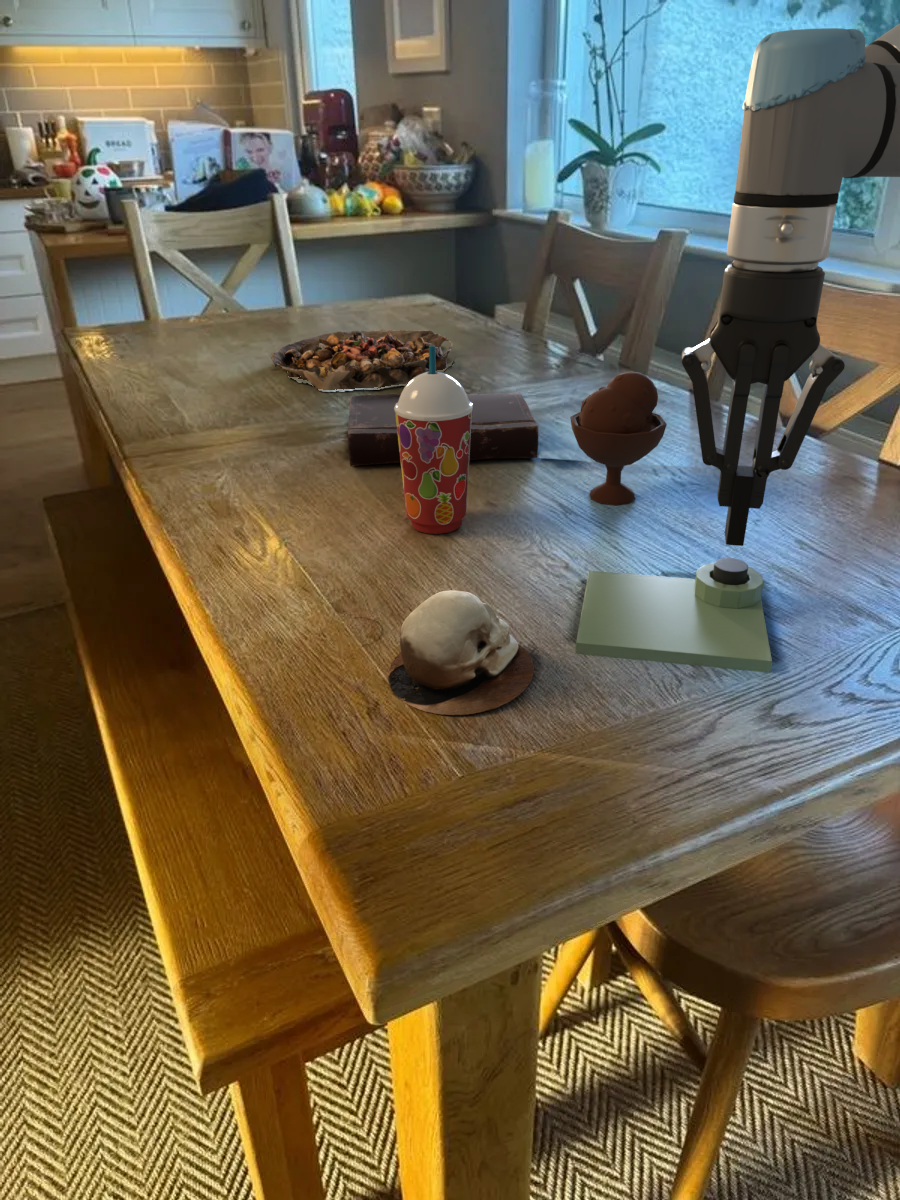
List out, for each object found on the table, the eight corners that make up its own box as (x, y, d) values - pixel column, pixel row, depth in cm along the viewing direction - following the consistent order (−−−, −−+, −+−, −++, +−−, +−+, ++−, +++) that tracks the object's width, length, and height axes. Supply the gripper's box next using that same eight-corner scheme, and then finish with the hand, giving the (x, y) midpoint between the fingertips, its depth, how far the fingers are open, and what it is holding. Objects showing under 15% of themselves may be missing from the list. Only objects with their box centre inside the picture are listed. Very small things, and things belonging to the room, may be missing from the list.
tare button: (744, 573, 85) (747, 558, 84) (747, 588, 82) (749, 573, 81) (711, 571, 85) (713, 556, 84) (713, 585, 83) (715, 570, 82)
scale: (756, 592, 87) (760, 564, 85) (770, 673, 74) (775, 642, 73) (588, 579, 90) (590, 551, 88) (575, 654, 77) (577, 624, 76)
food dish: (390, 409, 146) (386, 361, 142) (235, 388, 161) (228, 344, 158) (490, 355, 172) (489, 313, 168) (349, 341, 187) (345, 303, 183)
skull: (477, 609, 82) (524, 561, 74) (521, 714, 80) (574, 677, 71) (358, 640, 77) (393, 593, 68) (400, 754, 74) (442, 720, 66)
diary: (538, 461, 120) (539, 425, 118) (350, 470, 119) (347, 433, 116) (518, 420, 137) (518, 387, 134) (352, 427, 135) (350, 393, 133)
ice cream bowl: (610, 474, 116) (618, 356, 109) (677, 499, 108) (691, 374, 101) (548, 493, 110) (552, 370, 103) (614, 521, 102) (624, 390, 95)
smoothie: (474, 510, 106) (473, 336, 96) (472, 539, 99) (471, 355, 89) (403, 510, 106) (395, 337, 97) (396, 539, 99) (387, 355, 89)
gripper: (690, 268, 68) (659, 550, 80) (873, 272, 66) (815, 562, 77) (688, 255, 75) (660, 517, 86) (855, 258, 72) (804, 528, 84)
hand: (733, 538), depth 82 cm, fingers closed
